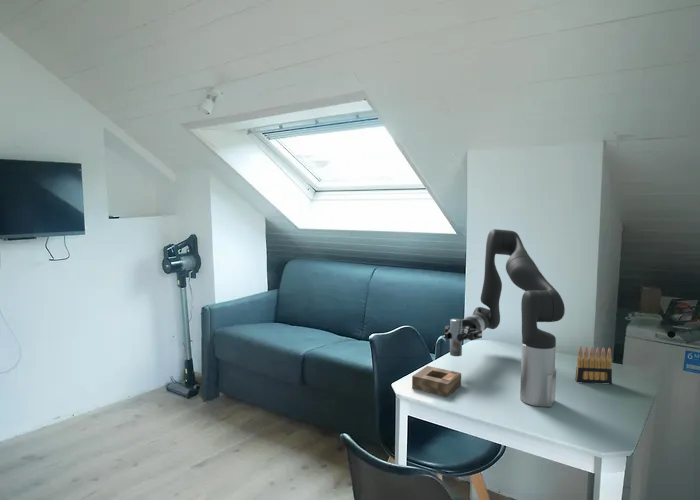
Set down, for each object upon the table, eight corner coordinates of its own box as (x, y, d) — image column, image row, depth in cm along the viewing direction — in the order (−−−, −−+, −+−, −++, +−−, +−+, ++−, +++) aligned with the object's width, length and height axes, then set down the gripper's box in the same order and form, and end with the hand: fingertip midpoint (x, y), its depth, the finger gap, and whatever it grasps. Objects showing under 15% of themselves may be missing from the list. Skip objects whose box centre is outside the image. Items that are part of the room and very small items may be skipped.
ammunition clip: (576, 382, 152) (578, 347, 151) (575, 380, 154) (576, 345, 153) (611, 384, 151) (613, 348, 149) (609, 382, 152) (611, 346, 151)
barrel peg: (463, 354, 159) (464, 319, 158) (459, 357, 156) (459, 322, 155) (452, 352, 161) (452, 318, 160) (447, 355, 158) (448, 320, 157)
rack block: (461, 385, 151) (461, 372, 150) (447, 396, 142) (447, 383, 141) (427, 377, 157) (427, 365, 157) (412, 387, 148) (412, 375, 148)
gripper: (452, 314, 173) (433, 323, 159) (490, 319, 165) (473, 329, 151) (452, 333, 174) (433, 345, 160) (490, 339, 166) (473, 352, 152)
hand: (452, 337), depth 156 cm, fingers closed on barrel peg, 4 cm apart
